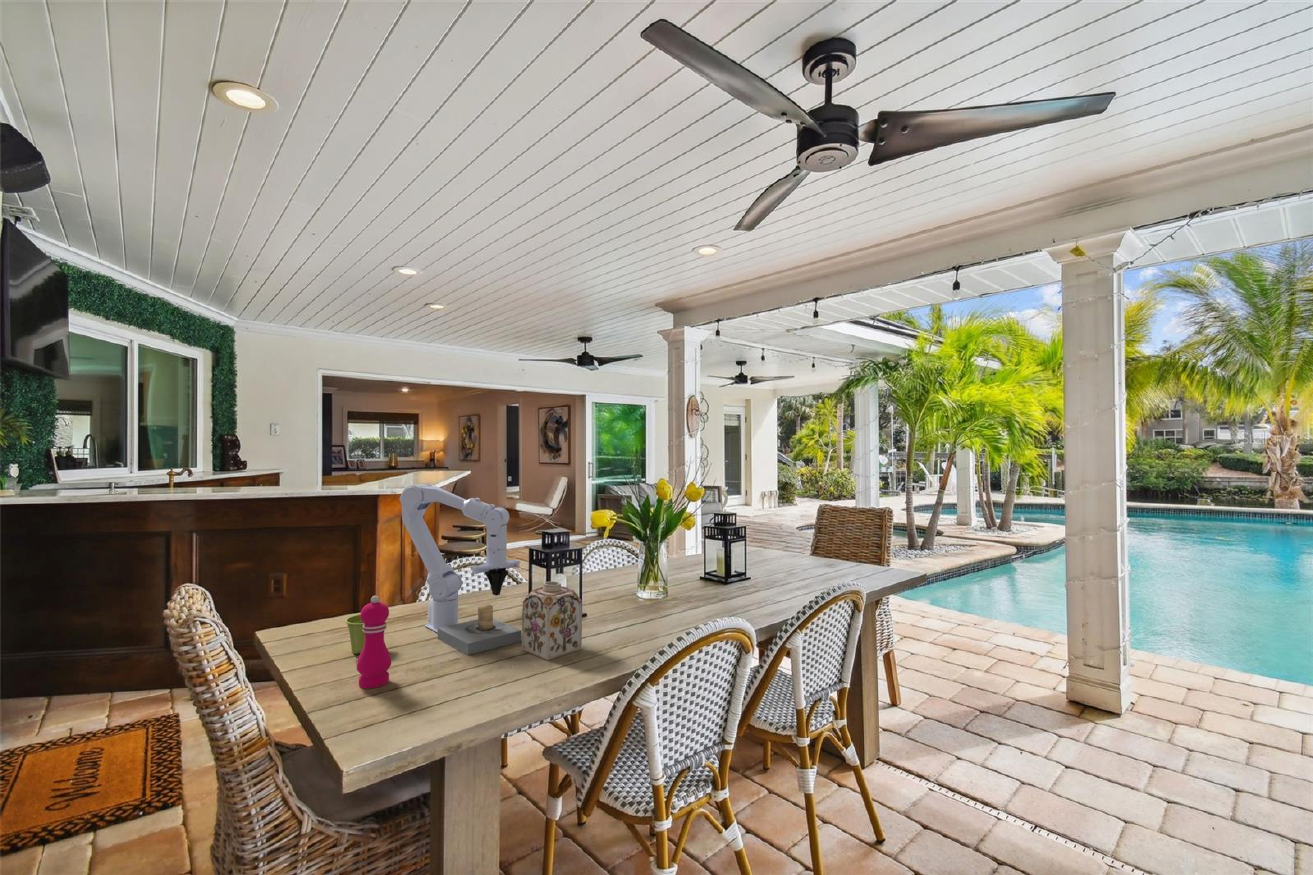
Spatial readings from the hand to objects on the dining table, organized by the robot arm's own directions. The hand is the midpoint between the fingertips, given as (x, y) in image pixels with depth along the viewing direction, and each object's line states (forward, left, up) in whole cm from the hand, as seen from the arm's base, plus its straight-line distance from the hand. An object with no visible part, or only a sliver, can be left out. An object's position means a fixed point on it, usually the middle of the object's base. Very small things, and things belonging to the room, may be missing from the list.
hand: (496, 594), depth 175 cm
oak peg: (+5, -6, -10) cm, 13 cm away
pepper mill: (+16, -40, -11) cm, 44 cm away
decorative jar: (+26, +2, -11) cm, 28 cm away
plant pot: (-8, -34, -11) cm, 37 cm away
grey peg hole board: (+5, -8, -10) cm, 14 cm away
